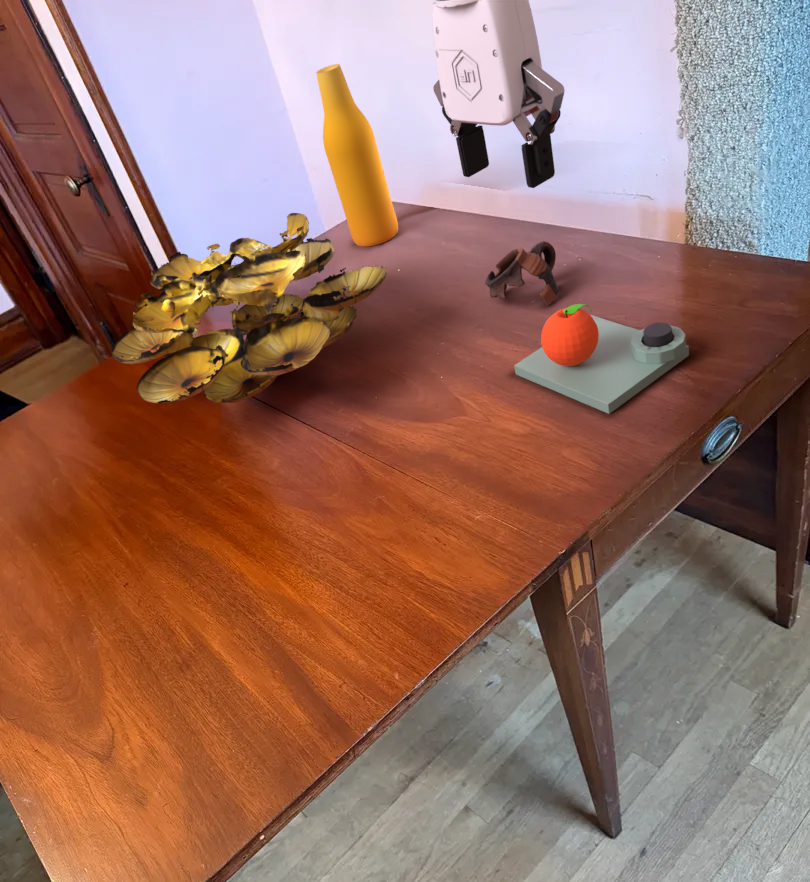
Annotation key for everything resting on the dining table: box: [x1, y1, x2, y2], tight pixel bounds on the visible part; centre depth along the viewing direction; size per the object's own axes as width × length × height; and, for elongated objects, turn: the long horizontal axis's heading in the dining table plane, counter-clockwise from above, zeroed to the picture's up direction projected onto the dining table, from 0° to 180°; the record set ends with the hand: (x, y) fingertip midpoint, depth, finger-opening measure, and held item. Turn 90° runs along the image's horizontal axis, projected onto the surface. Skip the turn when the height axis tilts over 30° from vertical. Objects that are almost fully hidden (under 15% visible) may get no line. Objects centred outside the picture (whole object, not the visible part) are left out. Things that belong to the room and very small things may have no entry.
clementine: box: [540, 303, 599, 366], centre depth 92 cm, size 8×7×7 cm
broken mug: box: [484, 240, 560, 307], centre depth 111 cm, size 12×10×8 cm
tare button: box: [643, 322, 672, 347], centre depth 89 cm, size 3×3×2 cm
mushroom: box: [110, 212, 388, 404], centre depth 111 cm, size 41×45×17 cm
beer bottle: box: [315, 63, 399, 248], centre depth 135 cm, size 9×9×29 cm
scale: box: [513, 314, 690, 415], centre depth 93 cm, size 16×15×3 cm
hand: (507, 176), depth 76 cm, fingers open, 9 cm apart
